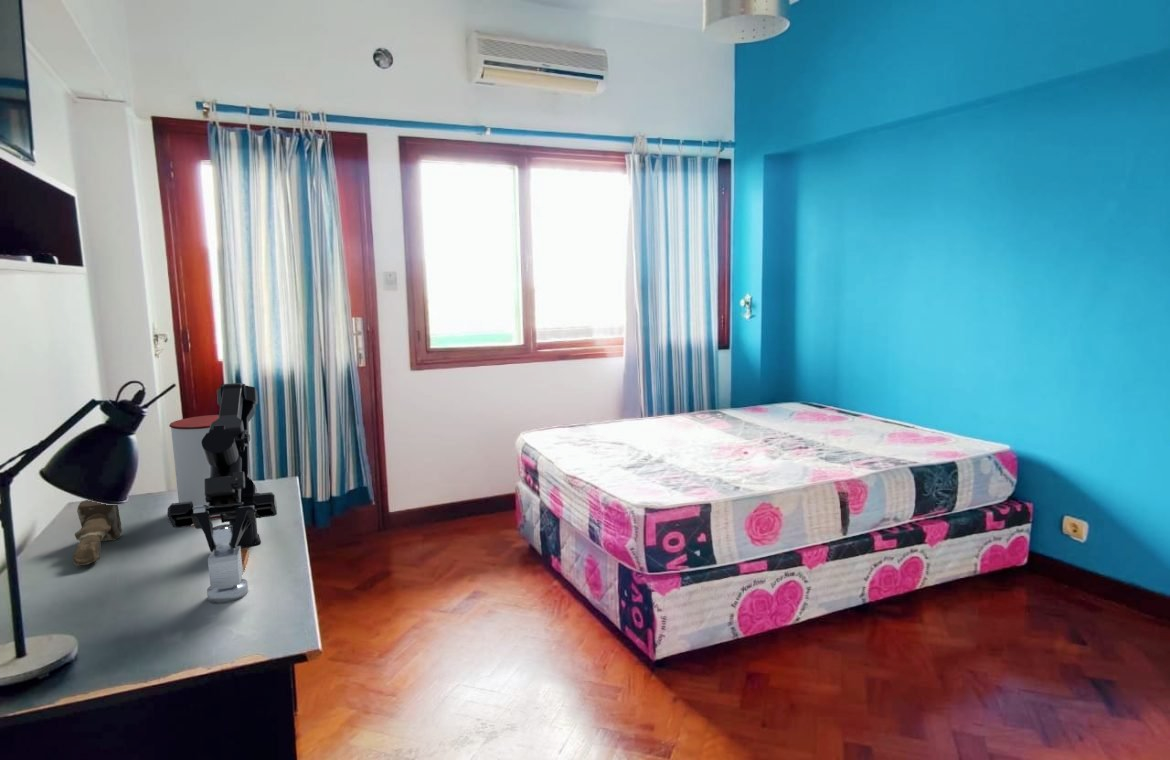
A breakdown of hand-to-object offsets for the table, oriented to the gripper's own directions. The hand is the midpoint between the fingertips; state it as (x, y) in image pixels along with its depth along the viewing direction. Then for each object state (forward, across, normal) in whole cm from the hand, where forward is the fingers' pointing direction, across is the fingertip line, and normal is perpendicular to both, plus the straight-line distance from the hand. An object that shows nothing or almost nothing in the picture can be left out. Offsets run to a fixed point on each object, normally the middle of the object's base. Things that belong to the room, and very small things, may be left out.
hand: (222, 549), depth 127 cm
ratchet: (+1, 0, +14) cm, 14 cm away
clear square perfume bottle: (+4, 0, +6) cm, 7 cm away
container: (-36, -10, +51) cm, 63 cm away
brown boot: (-20, -32, +34) cm, 51 cm away
